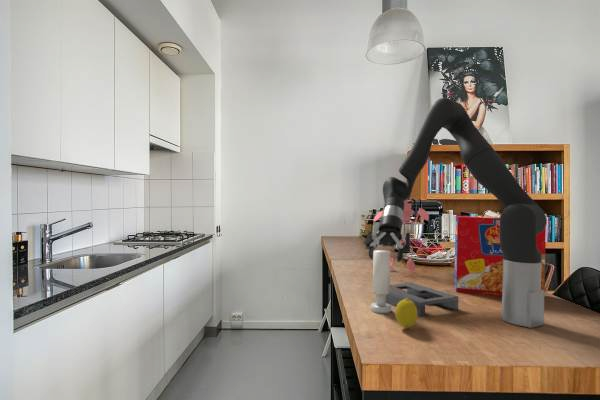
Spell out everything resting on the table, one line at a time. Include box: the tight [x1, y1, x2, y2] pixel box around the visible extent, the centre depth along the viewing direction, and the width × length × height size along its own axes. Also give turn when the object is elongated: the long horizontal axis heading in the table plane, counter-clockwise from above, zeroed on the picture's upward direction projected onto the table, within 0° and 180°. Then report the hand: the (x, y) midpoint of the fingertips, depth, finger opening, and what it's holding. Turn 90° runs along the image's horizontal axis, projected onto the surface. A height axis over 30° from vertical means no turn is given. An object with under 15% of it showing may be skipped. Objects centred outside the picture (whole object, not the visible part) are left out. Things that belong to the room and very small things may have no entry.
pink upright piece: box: [373, 199, 430, 278], centre depth 164 cm, size 15×26×35 cm, turn 62°
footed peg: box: [370, 249, 392, 315], centre depth 108 cm, size 6×6×18 cm
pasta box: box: [453, 215, 547, 297], centre depth 131 cm, size 28×8×28 cm, turn 72°
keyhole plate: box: [386, 282, 459, 317], centre depth 116 cm, size 20×16×4 cm
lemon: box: [395, 298, 418, 330], centre depth 93 cm, size 6×6×8 cm
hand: (384, 259), depth 113 cm, fingers open, 8 cm apart
